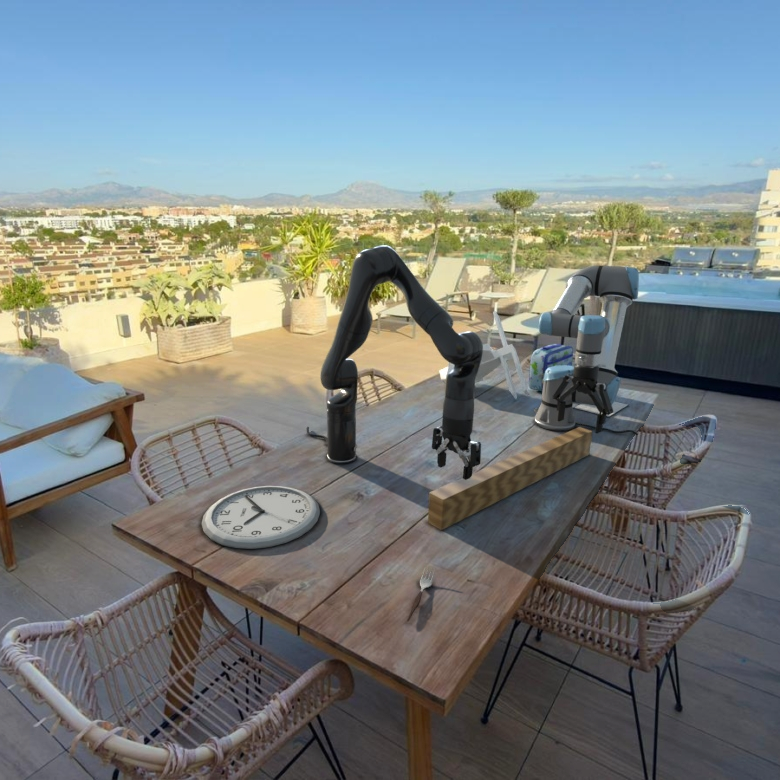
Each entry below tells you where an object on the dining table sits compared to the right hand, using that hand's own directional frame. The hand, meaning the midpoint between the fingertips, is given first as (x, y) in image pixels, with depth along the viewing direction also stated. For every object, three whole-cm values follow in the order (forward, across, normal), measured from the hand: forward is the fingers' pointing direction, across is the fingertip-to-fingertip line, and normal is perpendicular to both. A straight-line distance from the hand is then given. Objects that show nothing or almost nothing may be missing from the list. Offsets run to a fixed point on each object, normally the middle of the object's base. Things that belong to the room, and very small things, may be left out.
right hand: (578, 426), depth 173 cm
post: (+10, 0, -32) cm, 33 cm away
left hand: (-5, 0, -62) cm, 62 cm away
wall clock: (+8, -32, -100) cm, 105 cm away
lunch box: (+14, -49, +61) cm, 80 cm away
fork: (+7, +17, -90) cm, 92 cm away
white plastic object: (+13, -66, +30) cm, 74 cm away
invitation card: (+13, -20, +56) cm, 60 cm away
